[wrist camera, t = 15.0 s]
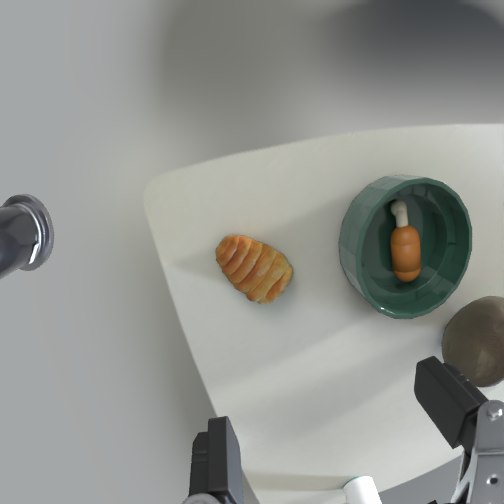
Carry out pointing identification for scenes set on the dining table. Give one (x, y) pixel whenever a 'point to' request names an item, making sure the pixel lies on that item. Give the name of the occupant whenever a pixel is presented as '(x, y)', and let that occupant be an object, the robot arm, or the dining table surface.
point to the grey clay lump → (477, 341)
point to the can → (361, 491)
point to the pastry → (254, 268)
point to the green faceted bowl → (431, 244)
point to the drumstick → (404, 245)
